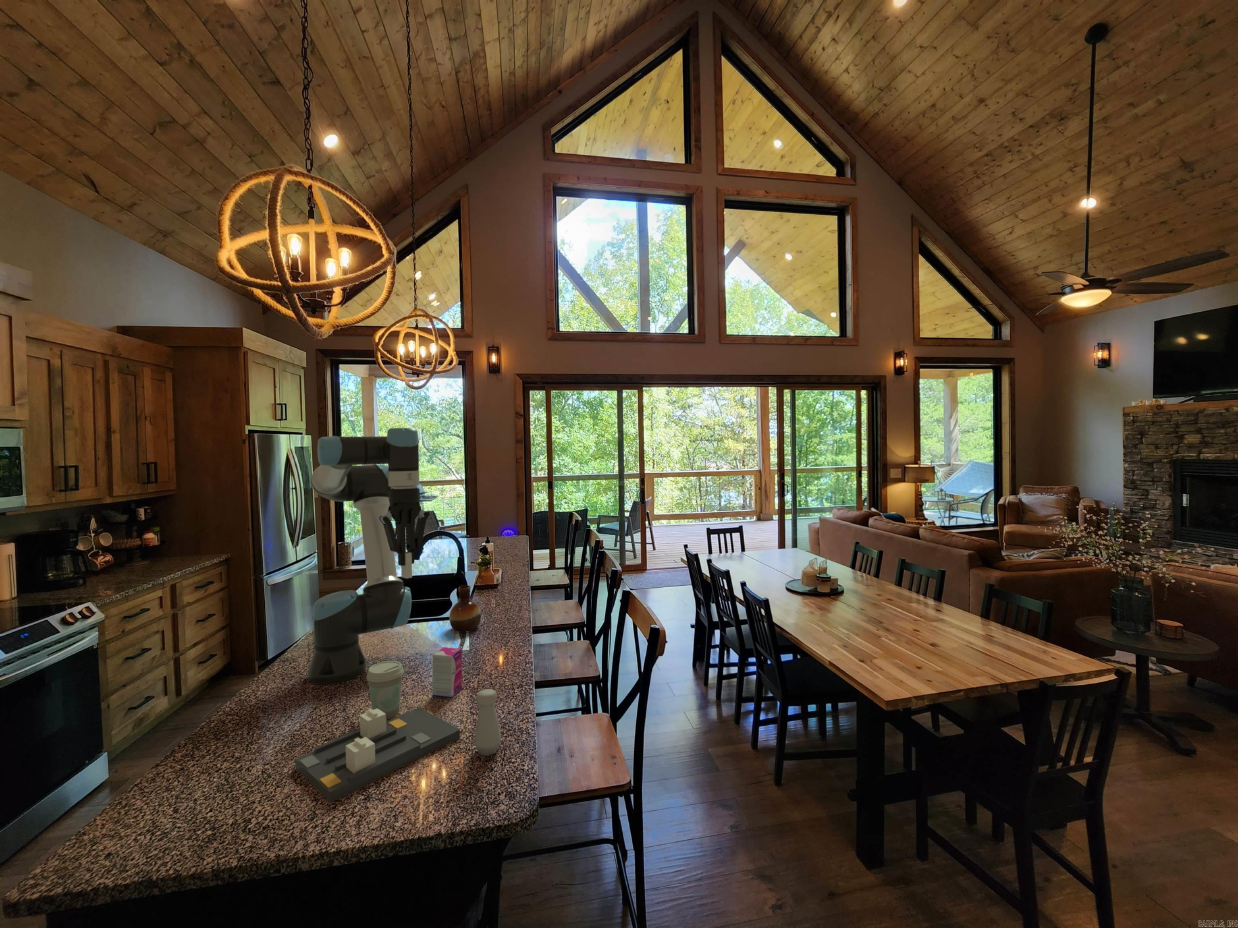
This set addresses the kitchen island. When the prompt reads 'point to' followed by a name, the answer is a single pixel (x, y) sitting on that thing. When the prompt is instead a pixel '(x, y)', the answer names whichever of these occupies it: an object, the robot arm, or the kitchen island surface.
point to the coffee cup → (385, 687)
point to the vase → (465, 612)
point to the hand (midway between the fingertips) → (406, 577)
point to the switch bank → (392, 751)
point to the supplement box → (447, 672)
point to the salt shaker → (487, 723)
